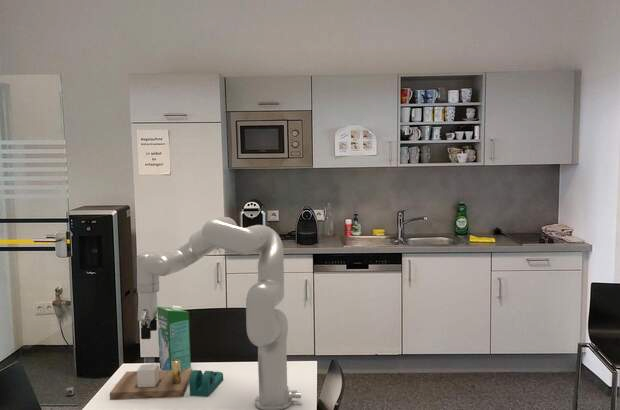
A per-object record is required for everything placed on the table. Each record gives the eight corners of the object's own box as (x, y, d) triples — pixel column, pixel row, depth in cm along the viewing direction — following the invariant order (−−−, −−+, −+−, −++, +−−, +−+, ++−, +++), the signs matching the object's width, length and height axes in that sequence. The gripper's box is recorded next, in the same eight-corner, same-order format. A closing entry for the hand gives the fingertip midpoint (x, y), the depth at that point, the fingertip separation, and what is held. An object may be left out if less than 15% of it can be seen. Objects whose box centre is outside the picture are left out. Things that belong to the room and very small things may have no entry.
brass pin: (181, 380, 197) (180, 359, 197) (180, 384, 194) (179, 362, 194) (173, 381, 197) (172, 359, 196) (171, 384, 194) (170, 362, 194)
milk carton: (191, 367, 217) (188, 306, 216) (170, 373, 211) (167, 310, 210) (179, 362, 224) (177, 302, 222) (159, 368, 218) (157, 306, 216)
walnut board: (192, 375, 209) (192, 369, 209) (183, 397, 189) (182, 390, 189) (126, 378, 208) (126, 371, 208) (110, 399, 188) (109, 392, 188)
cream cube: (158, 380, 198) (158, 364, 198) (154, 386, 192) (154, 370, 192) (142, 380, 198) (141, 364, 198) (137, 387, 192) (137, 370, 192)
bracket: (208, 397, 189) (207, 375, 188) (189, 396, 190) (189, 374, 190) (225, 377, 206) (225, 357, 206) (209, 376, 208) (208, 356, 207)
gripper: (143, 282, 202) (144, 327, 203) (131, 293, 185) (132, 342, 186) (164, 282, 202) (164, 327, 203) (153, 292, 185) (154, 342, 186)
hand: (149, 334), depth 195 cm, fingers open, 9 cm apart
